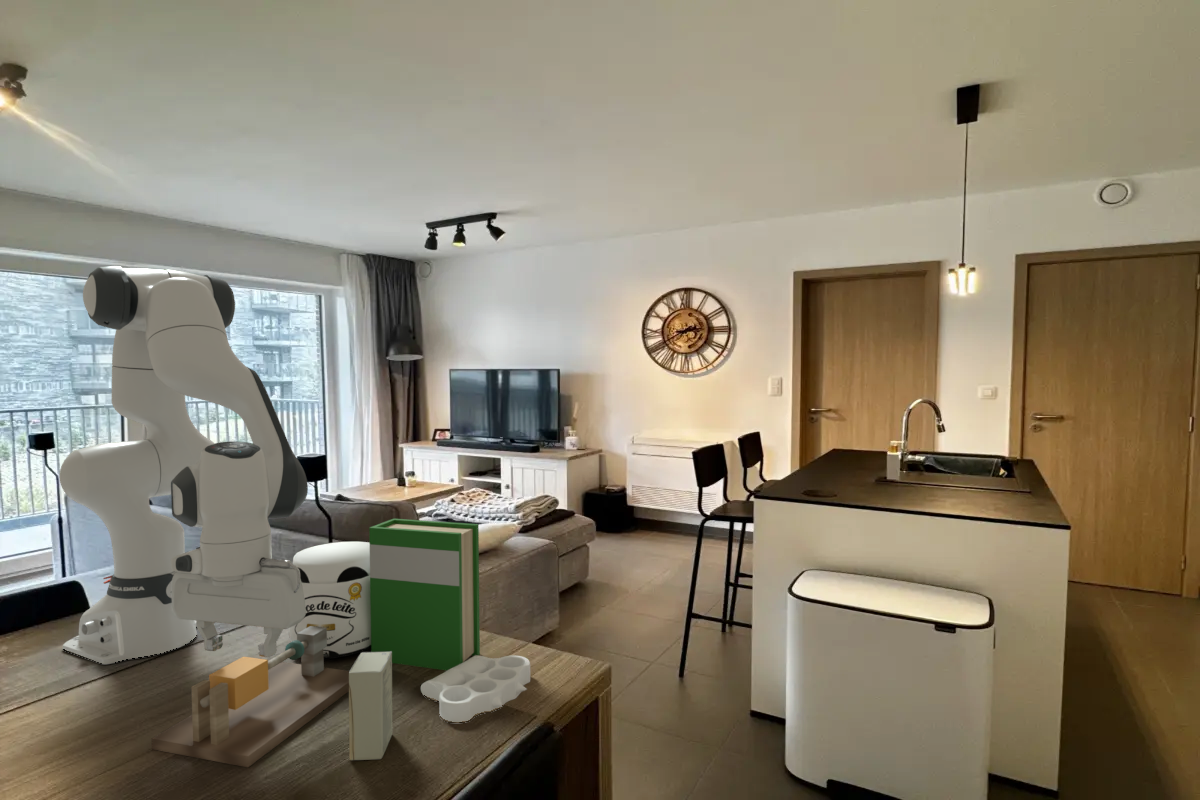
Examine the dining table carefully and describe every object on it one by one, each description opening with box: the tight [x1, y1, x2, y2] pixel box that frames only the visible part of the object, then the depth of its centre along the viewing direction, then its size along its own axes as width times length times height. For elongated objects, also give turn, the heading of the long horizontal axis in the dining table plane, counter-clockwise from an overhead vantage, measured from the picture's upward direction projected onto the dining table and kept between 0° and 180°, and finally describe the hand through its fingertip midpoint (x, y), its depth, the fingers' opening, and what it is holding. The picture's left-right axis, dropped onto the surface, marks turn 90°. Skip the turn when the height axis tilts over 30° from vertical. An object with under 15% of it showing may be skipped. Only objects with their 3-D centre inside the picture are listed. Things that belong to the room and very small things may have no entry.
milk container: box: [288, 541, 371, 659], centre depth 119 cm, size 17×17×18 cm
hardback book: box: [368, 518, 481, 671], centre depth 115 cm, size 18×7×24 cm, turn 74°
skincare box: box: [348, 651, 393, 761], centre depth 87 cm, size 6×4×12 cm
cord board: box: [151, 626, 350, 768], centre depth 96 cm, size 16×24×9 cm, turn 165°
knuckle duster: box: [420, 655, 531, 722], centre depth 102 cm, size 3×18×15 cm
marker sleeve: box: [208, 656, 269, 710], centre depth 91 cm, size 4×6×4 cm
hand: (240, 652), depth 91 cm, fingers open, 8 cm apart
